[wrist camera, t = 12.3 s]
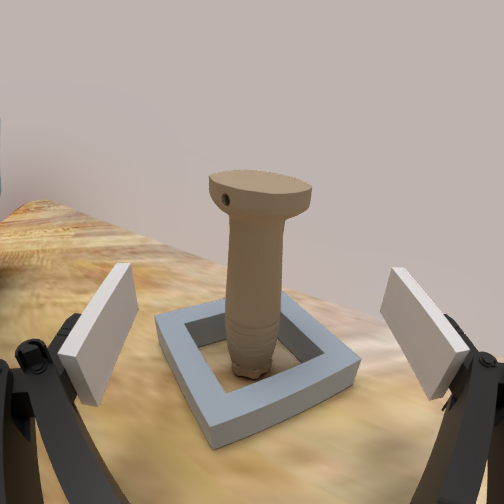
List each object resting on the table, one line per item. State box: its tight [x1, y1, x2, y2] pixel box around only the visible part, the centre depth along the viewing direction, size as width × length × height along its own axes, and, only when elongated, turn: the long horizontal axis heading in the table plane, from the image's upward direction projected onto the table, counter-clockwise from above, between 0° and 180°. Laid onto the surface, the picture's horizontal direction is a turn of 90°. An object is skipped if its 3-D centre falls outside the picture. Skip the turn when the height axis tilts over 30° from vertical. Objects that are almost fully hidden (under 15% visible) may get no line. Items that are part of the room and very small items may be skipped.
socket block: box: [154, 290, 361, 450], centre depth 24 cm, size 12×12×3 cm
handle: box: [209, 170, 312, 379], centre depth 21 cm, size 5×6×15 cm
